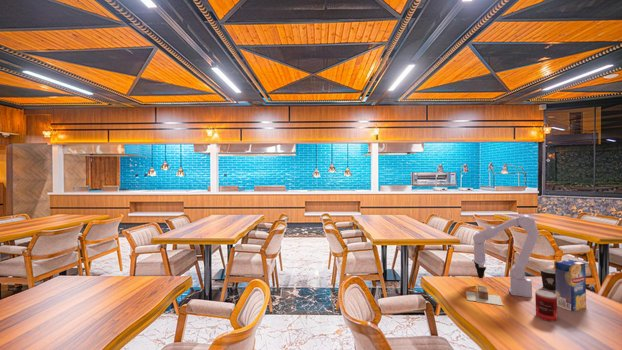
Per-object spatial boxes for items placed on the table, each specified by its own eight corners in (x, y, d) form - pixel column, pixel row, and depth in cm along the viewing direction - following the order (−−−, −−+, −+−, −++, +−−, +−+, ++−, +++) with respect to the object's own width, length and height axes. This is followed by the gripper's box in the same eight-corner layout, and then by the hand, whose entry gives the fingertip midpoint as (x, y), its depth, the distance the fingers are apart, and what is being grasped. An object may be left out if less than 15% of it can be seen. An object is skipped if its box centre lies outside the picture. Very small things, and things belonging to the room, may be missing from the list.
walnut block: (486, 286, 157) (488, 292, 148) (486, 293, 156) (488, 299, 148) (477, 285, 158) (479, 291, 150) (478, 292, 158) (479, 298, 150)
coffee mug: (537, 287, 165) (537, 270, 165) (545, 284, 168) (545, 267, 168) (561, 294, 154) (561, 276, 154) (569, 291, 158) (569, 273, 158)
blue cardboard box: (586, 307, 139) (585, 263, 139) (572, 311, 135) (571, 265, 135) (569, 301, 145) (568, 259, 145) (555, 305, 142) (554, 261, 142)
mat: (499, 296, 153) (499, 296, 153) (503, 306, 142) (503, 305, 142) (466, 291, 160) (466, 291, 160) (467, 300, 149) (467, 299, 149)
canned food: (548, 313, 134) (548, 290, 134) (562, 321, 126) (561, 297, 126) (531, 312, 135) (531, 289, 135) (543, 321, 127) (543, 297, 127)
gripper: (471, 249, 176) (471, 271, 176) (472, 255, 163) (473, 279, 163) (484, 250, 173) (484, 272, 173) (487, 256, 160) (487, 280, 160)
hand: (480, 275), depth 168 cm, fingers open, 7 cm apart
